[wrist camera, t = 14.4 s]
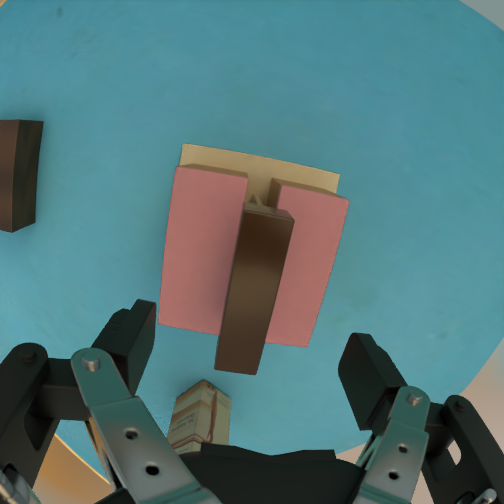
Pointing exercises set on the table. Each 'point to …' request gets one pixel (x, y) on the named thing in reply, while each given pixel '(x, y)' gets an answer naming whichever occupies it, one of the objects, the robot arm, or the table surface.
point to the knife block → (18, 172)
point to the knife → (252, 286)
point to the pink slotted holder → (225, 231)
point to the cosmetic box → (199, 418)
